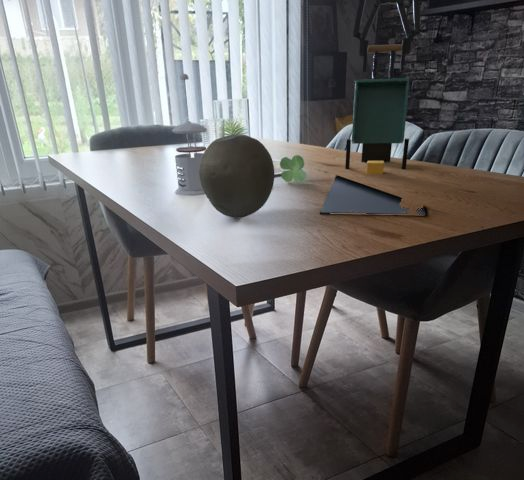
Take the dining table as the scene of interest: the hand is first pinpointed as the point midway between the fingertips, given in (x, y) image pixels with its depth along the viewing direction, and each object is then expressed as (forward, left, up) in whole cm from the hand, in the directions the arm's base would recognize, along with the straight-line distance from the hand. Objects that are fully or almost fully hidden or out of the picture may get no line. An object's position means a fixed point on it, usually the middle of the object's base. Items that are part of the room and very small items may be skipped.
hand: (382, 71), depth 118 cm
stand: (+4, -3, -24) cm, 25 cm away
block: (-8, +5, -22) cm, 24 cm away
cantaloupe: (-27, +46, -24) cm, 59 cm away
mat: (-20, +12, -24) cm, 33 cm away
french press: (+4, +48, -24) cm, 54 cm away
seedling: (+4, +21, -24) cm, 33 cm away
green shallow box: (+2, -1, -6) cm, 6 cm away
